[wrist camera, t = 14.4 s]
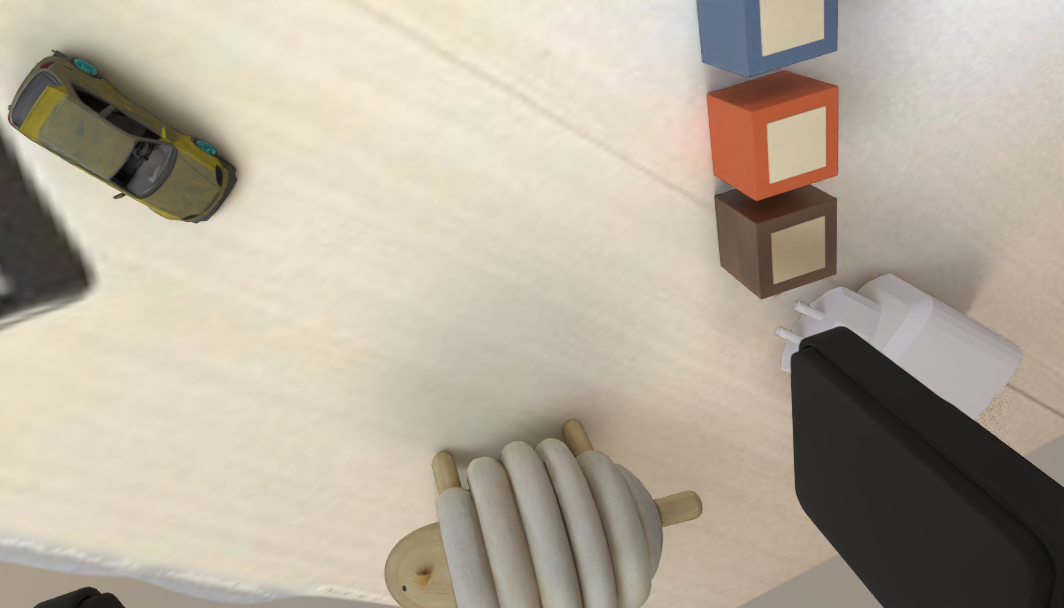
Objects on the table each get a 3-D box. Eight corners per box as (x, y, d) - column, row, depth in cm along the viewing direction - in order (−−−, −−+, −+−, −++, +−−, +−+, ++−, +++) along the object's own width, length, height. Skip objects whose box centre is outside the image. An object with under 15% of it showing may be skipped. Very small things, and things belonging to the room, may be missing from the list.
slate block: (693, -35, 31) (742, -31, 27) (779, -59, 31) (839, -58, 27) (701, 62, 33) (748, 78, 29) (783, 38, 33) (839, 51, 29)
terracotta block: (706, 93, 33) (751, 112, 30) (785, 70, 34) (840, 85, 30) (713, 175, 36) (757, 202, 32) (788, 151, 36) (839, 176, 32)
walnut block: (714, 195, 36) (757, 224, 32) (787, 172, 37) (838, 198, 33) (720, 266, 38) (761, 300, 34) (789, 243, 39) (838, 275, 35)
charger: (809, 227, 38) (968, 316, 45) (717, 362, 41) (879, 427, 47) (866, 261, 34) (1032, 354, 41) (759, 408, 37) (930, 473, 43)
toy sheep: (353, 442, 37) (359, 614, 28) (645, 352, 40) (745, 483, 30) (406, 572, 43) (426, 754, 33) (662, 486, 45) (750, 634, 35)
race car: (200, 232, 31) (190, 254, 28) (4, 115, 27) (-25, 131, 25) (248, 167, 30) (242, 185, 28) (53, 38, 26) (29, 47, 24)
